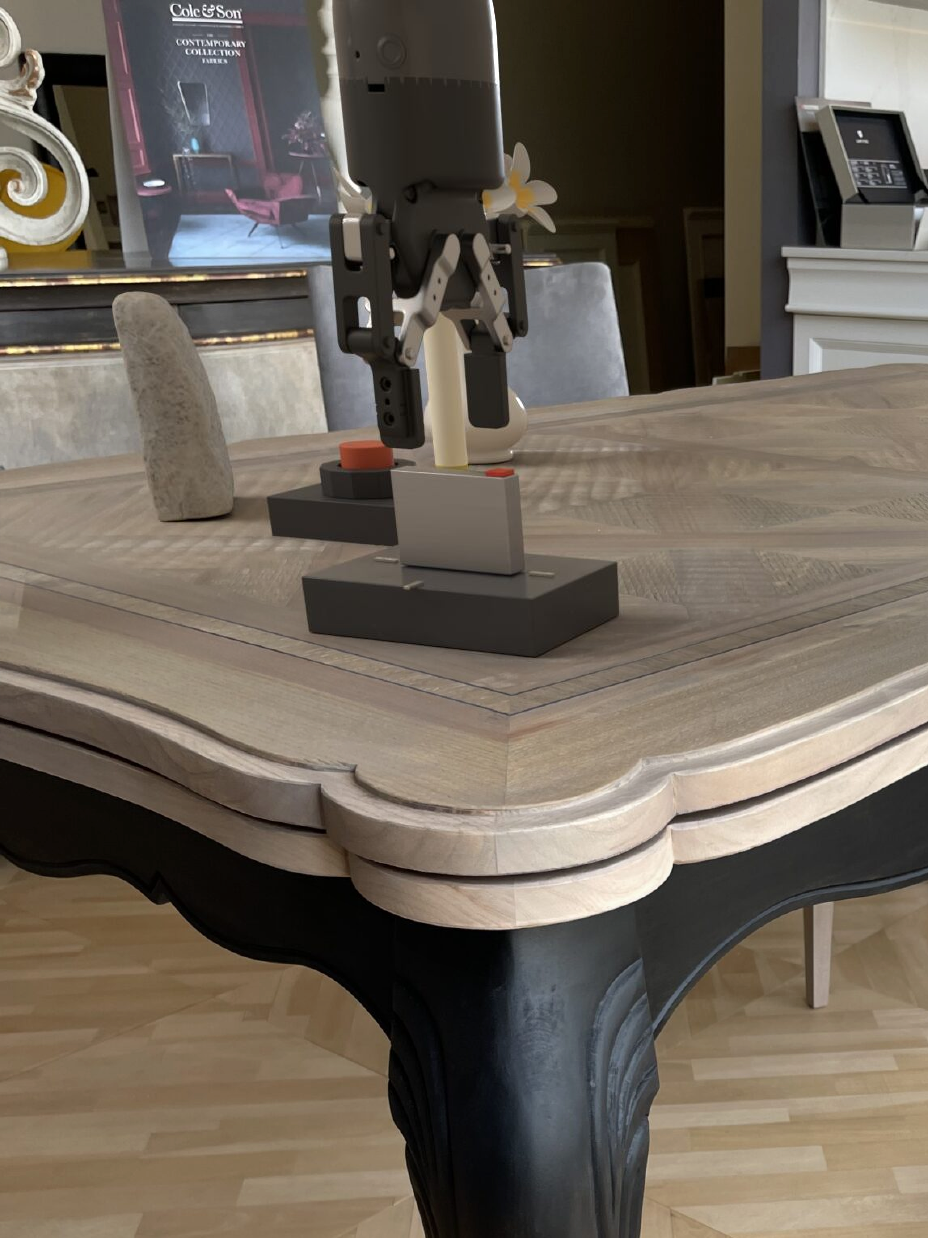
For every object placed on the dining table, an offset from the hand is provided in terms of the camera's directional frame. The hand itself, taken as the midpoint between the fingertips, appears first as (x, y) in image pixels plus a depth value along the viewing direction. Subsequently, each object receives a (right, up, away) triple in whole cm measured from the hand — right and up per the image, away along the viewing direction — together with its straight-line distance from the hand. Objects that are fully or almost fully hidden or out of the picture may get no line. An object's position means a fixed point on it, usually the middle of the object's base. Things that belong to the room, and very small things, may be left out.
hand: (448, 437), depth 80 cm
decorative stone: (-26, +8, +35) cm, 45 cm away
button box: (-11, +4, +28) cm, 31 cm away
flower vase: (-10, +20, +58) cm, 62 cm away
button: (-11, +8, +26) cm, 30 cm away
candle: (-8, +11, +40) cm, 43 cm away
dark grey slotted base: (0, -9, +5) cm, 10 cm away
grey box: (0, -6, +3) cm, 7 cm away
